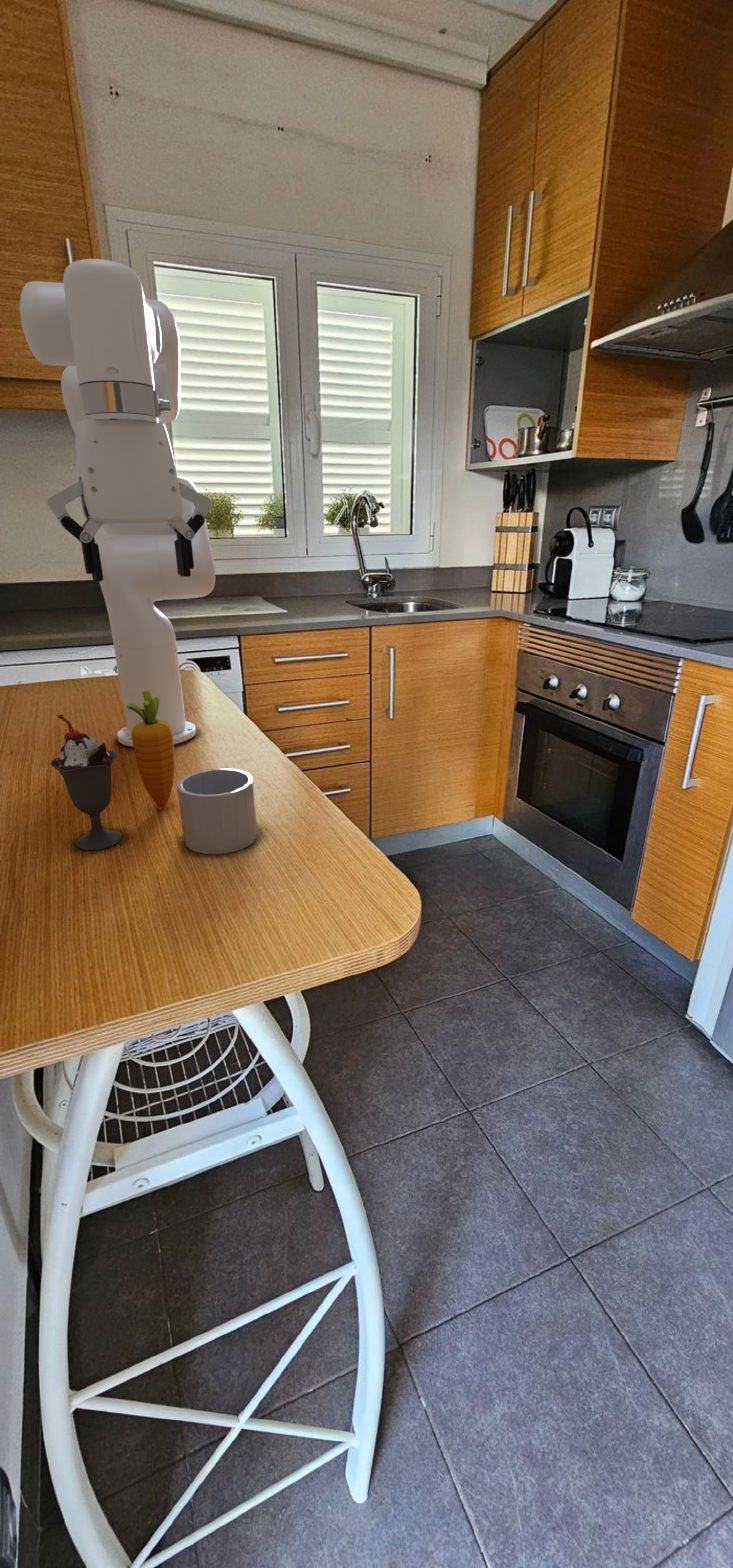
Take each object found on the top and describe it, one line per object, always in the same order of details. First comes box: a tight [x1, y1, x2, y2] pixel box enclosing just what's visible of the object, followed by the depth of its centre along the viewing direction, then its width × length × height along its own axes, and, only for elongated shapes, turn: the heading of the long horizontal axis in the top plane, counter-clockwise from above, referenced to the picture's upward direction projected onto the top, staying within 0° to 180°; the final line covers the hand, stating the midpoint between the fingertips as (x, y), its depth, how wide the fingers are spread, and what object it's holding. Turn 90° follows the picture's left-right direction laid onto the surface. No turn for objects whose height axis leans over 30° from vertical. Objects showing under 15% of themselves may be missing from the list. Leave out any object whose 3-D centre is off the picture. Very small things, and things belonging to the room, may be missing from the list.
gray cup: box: [176, 767, 258, 855], centre depth 77 cm, size 8×8×7 cm
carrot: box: [127, 690, 176, 809], centre depth 83 cm, size 5×5×15 cm
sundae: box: [50, 714, 123, 851], centre depth 75 cm, size 7×7×15 cm
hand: (142, 578), depth 77 cm, fingers open, 9 cm apart
